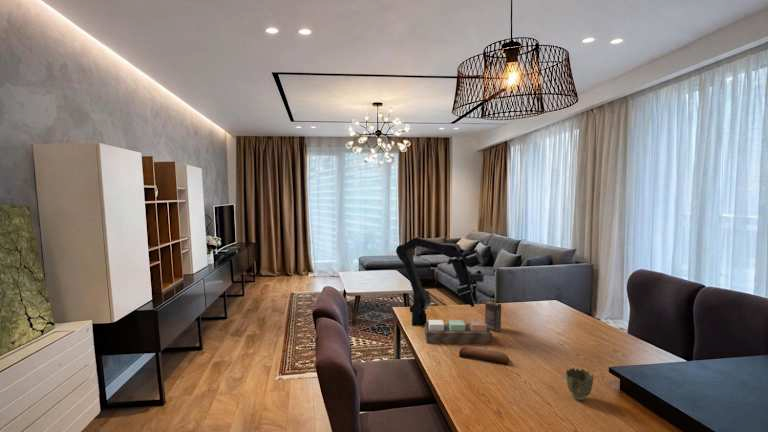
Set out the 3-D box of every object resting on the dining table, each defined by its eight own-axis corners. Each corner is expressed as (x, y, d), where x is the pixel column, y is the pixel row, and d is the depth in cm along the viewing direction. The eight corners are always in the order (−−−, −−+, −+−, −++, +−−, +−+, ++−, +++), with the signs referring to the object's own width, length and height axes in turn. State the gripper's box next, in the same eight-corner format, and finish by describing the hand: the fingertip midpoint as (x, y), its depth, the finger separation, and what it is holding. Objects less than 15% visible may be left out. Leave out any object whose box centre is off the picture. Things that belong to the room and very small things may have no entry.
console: (426, 343, 154) (426, 332, 154) (424, 333, 165) (424, 323, 164) (491, 343, 153) (491, 333, 153) (485, 334, 164) (485, 324, 164)
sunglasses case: (509, 356, 142) (509, 344, 138) (508, 372, 136) (508, 360, 133) (463, 348, 148) (461, 337, 145) (459, 363, 143) (458, 352, 140)
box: (501, 329, 169) (501, 303, 169) (495, 331, 167) (496, 305, 166) (490, 325, 174) (490, 300, 173) (484, 328, 171) (484, 302, 170)
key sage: (450, 335, 156) (451, 324, 156) (448, 330, 162) (449, 320, 162) (465, 335, 156) (465, 325, 155) (462, 330, 162) (462, 320, 161)
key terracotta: (472, 335, 156) (472, 325, 155) (469, 330, 162) (469, 320, 161) (486, 335, 155) (486, 325, 155) (483, 330, 161) (483, 320, 161)
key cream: (429, 335, 156) (429, 324, 156) (428, 329, 162) (428, 319, 162) (443, 335, 156) (443, 324, 156) (442, 329, 162) (442, 319, 162)
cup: (560, 392, 115) (561, 368, 115) (582, 391, 116) (583, 367, 116) (574, 406, 108) (575, 380, 108) (598, 405, 109) (599, 378, 108)
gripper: (475, 267, 153) (489, 303, 151) (481, 262, 171) (494, 294, 168) (450, 276, 157) (464, 311, 155) (459, 270, 175) (472, 302, 172)
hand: (474, 304), depth 163 cm, fingers open, 9 cm apart
